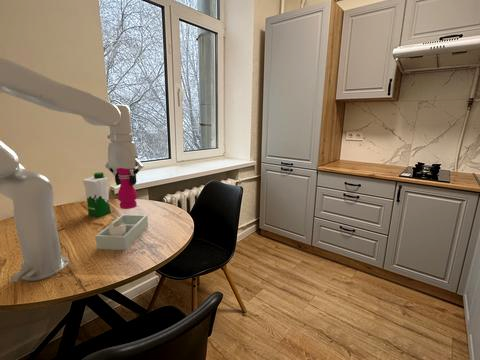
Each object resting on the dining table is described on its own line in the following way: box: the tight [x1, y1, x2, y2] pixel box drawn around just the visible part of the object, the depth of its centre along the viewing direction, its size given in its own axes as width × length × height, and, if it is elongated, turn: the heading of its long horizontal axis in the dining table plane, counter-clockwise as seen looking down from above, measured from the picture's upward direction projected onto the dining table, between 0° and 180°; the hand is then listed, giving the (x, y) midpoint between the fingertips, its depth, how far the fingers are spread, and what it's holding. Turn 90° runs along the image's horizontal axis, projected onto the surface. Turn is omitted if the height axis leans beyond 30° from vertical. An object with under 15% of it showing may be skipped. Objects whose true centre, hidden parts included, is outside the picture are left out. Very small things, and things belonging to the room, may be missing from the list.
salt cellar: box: [108, 221, 126, 236], centre depth 97 cm, size 6×6×8 cm
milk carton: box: [82, 172, 112, 218], centre depth 125 cm, size 9×9×20 cm
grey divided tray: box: [95, 213, 149, 251], centre depth 102 cm, size 20×11×6 cm, turn 178°
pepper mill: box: [116, 168, 138, 210], centre depth 103 cm, size 7×7×20 cm
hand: (126, 184), depth 103 cm, fingers closed on pepper mill, 5 cm apart
